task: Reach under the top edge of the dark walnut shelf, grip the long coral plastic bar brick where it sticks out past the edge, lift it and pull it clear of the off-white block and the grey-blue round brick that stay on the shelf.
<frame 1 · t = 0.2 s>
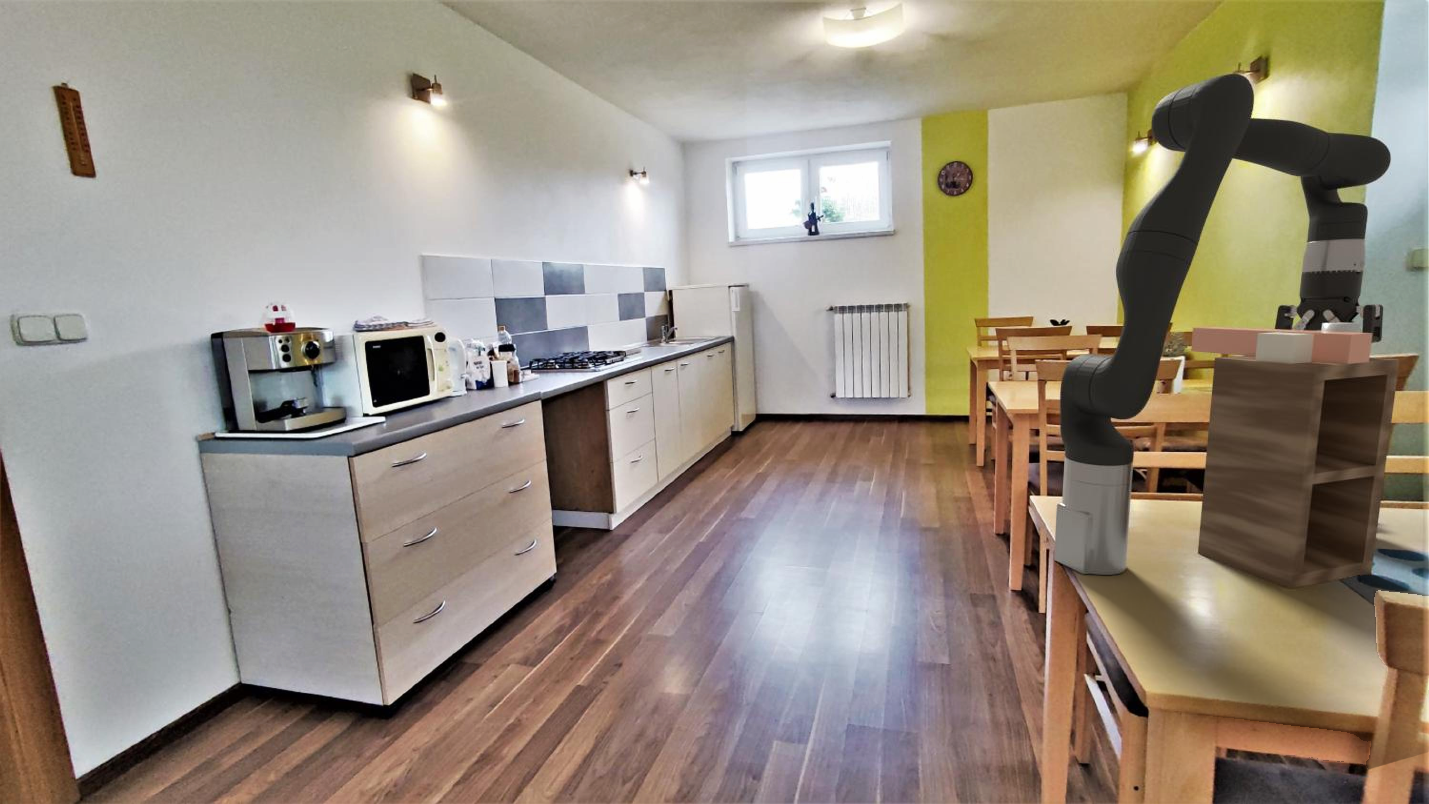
hand: (1321, 367, 112), 29 cm above the table, tool pointing down, fingers open, 8 cm apart
coral bar brick: (1270, 356, 103), point 32 cm above the table, touching walnut shelf
off-white block brick: (1282, 361, 97), point 32 cm above the table, touching walnut shelf
grey-blue round brick: (1337, 357, 99), point 32 cm above the table, touching walnut shelf
walnut shelf: (1280, 562, 104), on the table
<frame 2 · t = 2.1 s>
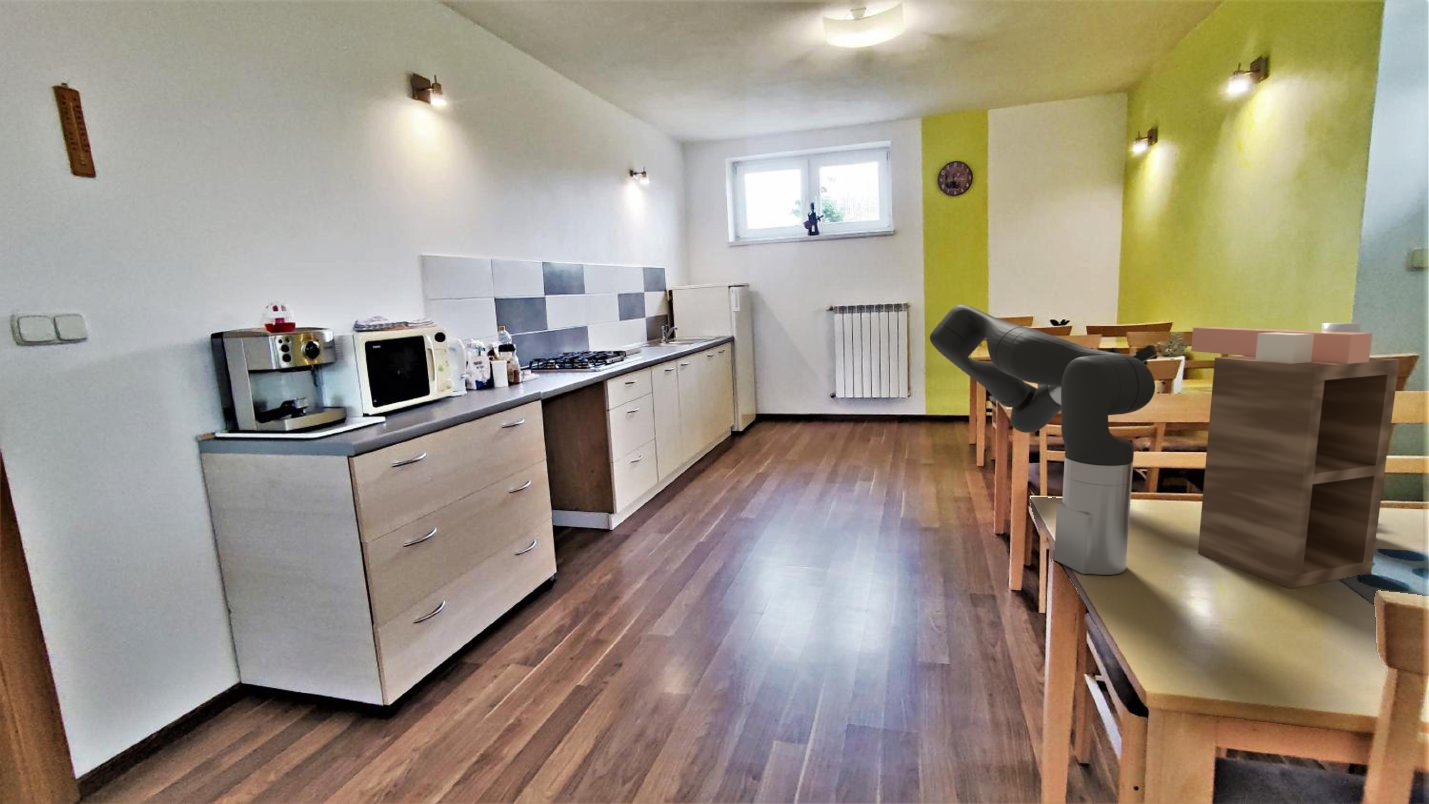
hand: (1135, 350, 127), 31 cm above the table, tool pointing upward, fingers open, 8 cm apart
nothing on the table moved.
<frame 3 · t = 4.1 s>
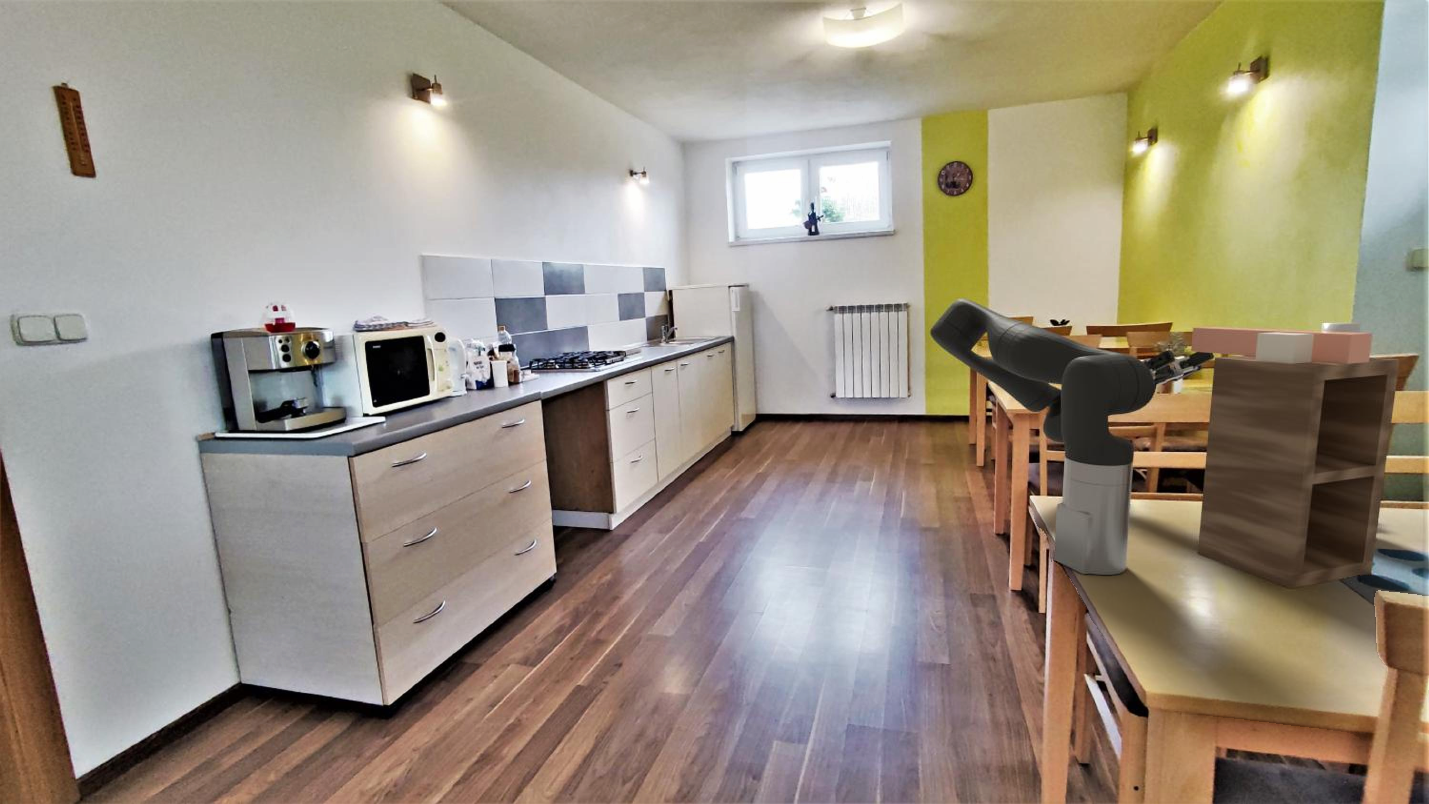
hand: (1191, 353, 116), 31 cm above the table, tool pointing upward, fingers open, 8 cm apart
nothing on the table moved.
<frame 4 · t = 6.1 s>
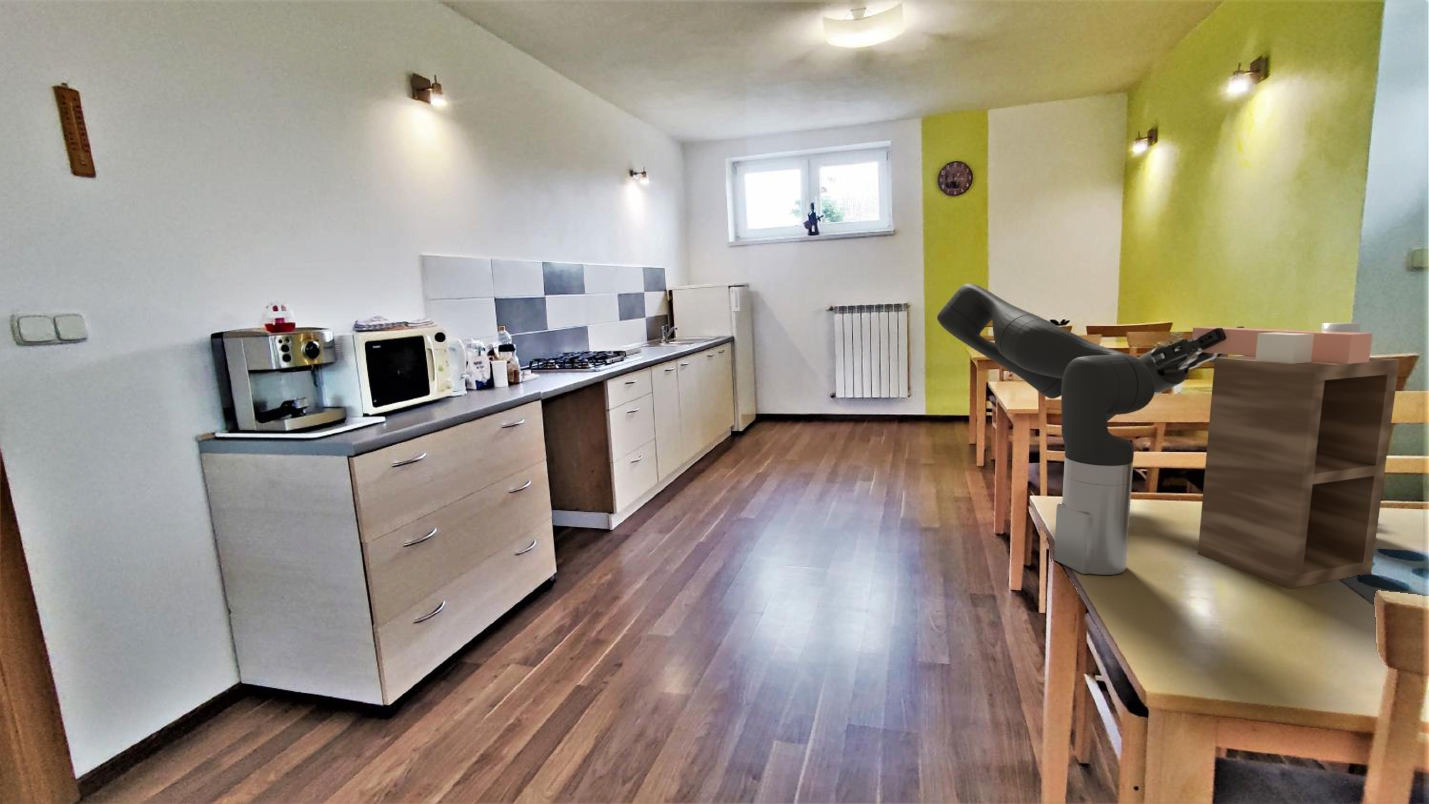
hand: (1233, 332, 109), 35 cm above the table, tool pointing upward, fingers closed on coral bar brick, 4 cm apart
coral bar brick: (1270, 356, 103), point 32 cm above the table, touching gripper, walnut shelf
everything else where it was.
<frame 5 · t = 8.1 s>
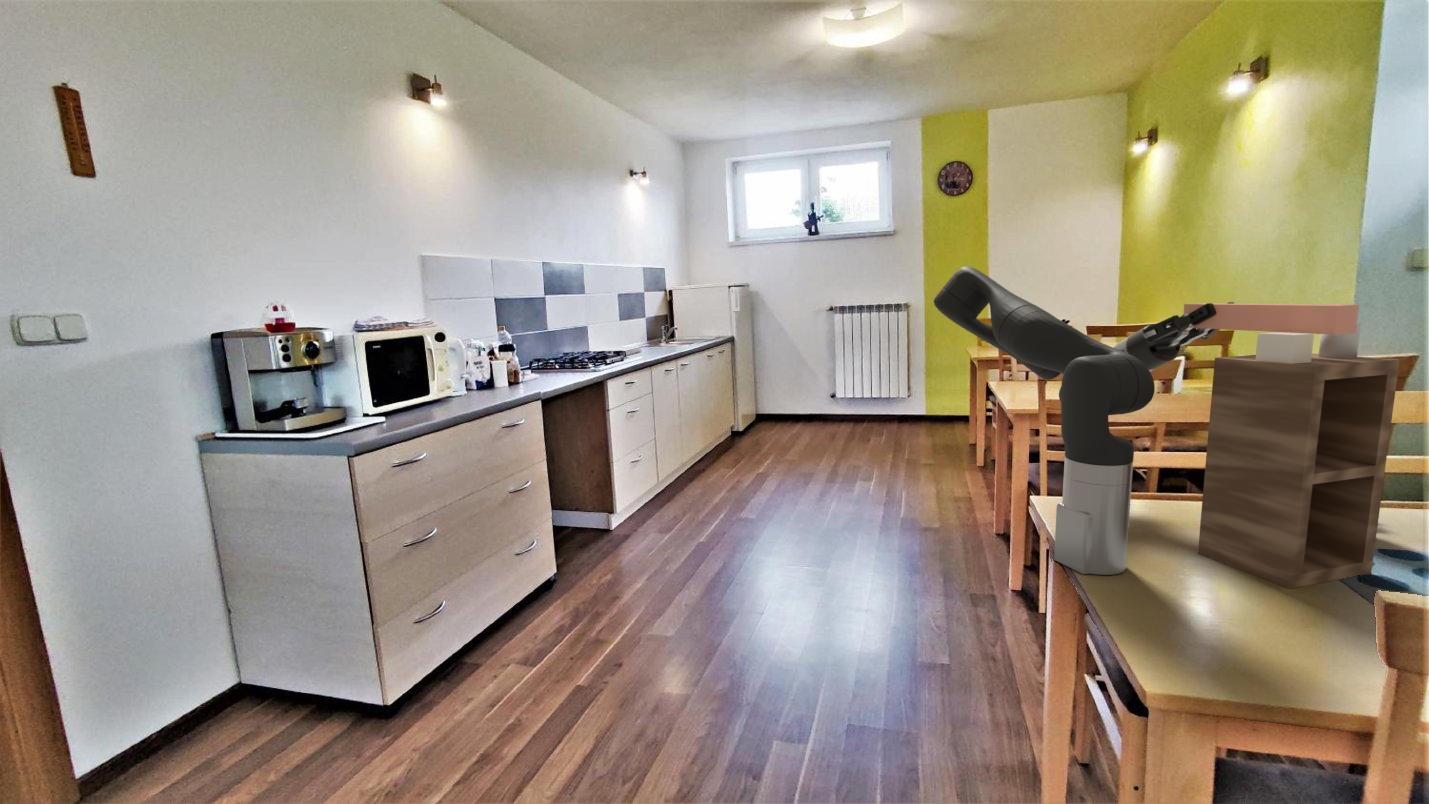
hand: (1223, 307, 110), 39 cm above the table, tool pointing upward, fingers closed on coral bar brick, 4 cm apart
coral bar brick: (1260, 330, 105), point 36 cm above the table, touching gripper
everything else where it was.
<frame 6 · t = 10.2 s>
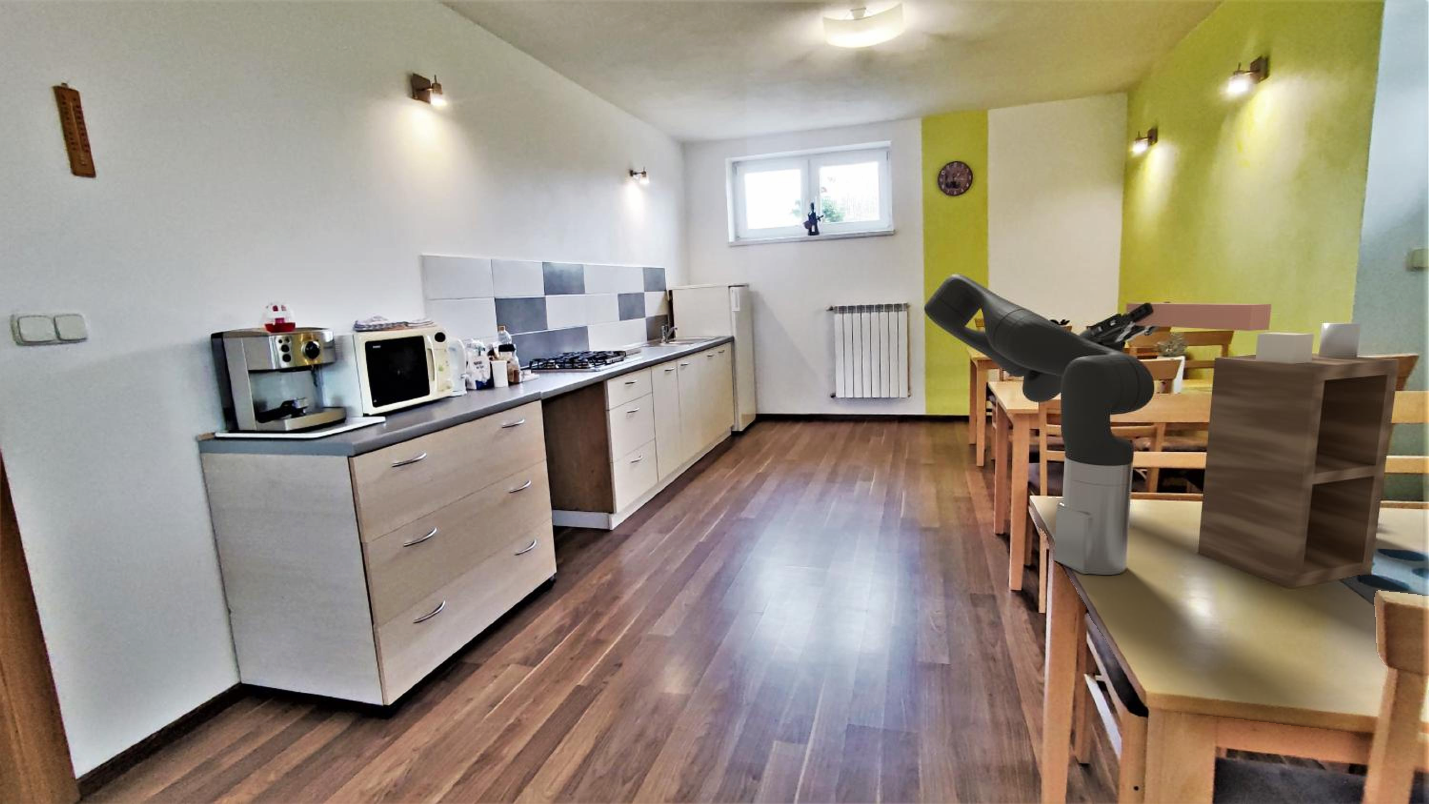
hand: (1160, 306, 121), 39 cm above the table, tool pointing upward, fingers closed on coral bar brick, 4 cm apart
coral bar brick: (1190, 327, 116), point 36 cm above the table, touching gripper
everything else where it was.
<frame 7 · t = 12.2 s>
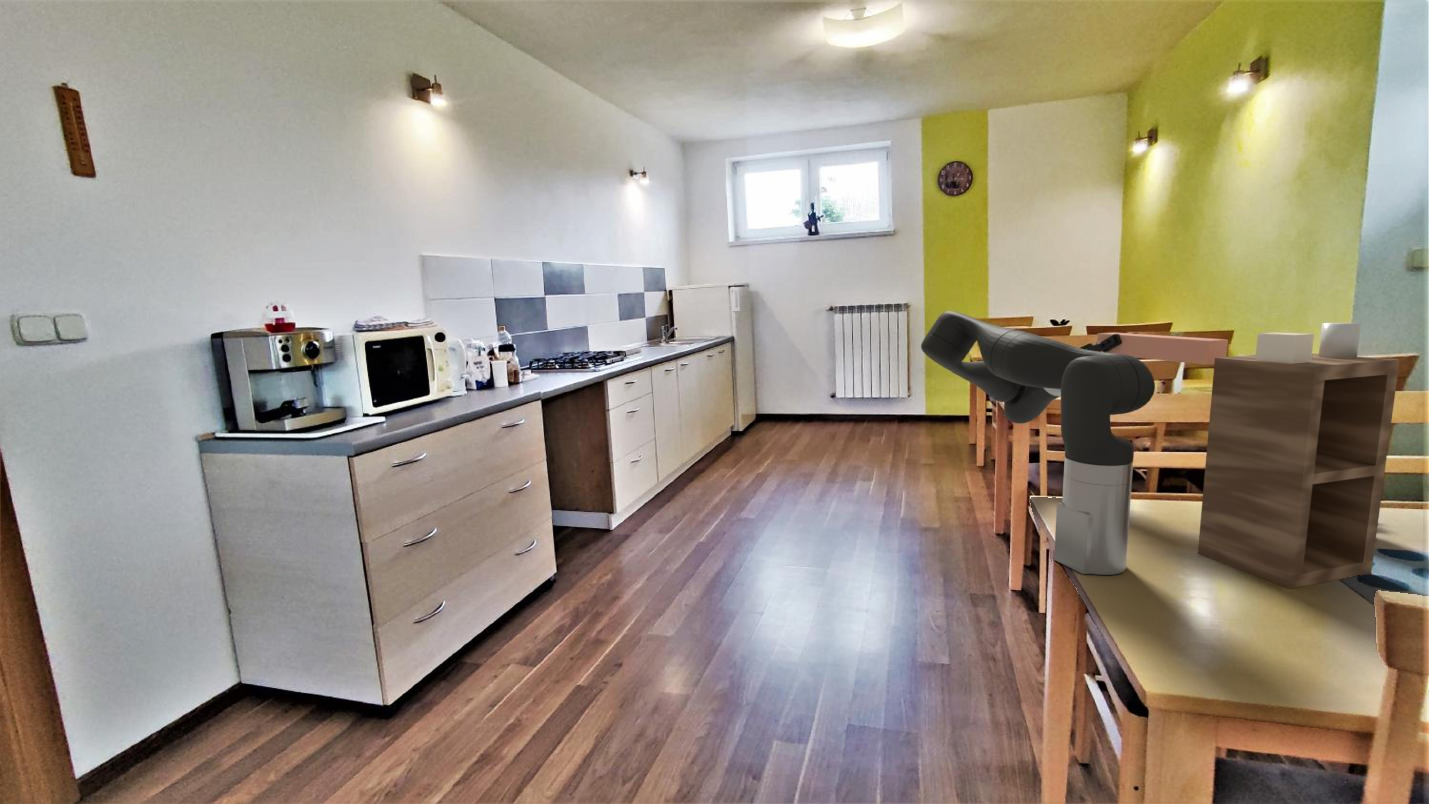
hand: (1128, 337, 128), 33 cm above the table, tool pointing upward, fingers closed on coral bar brick, 4 cm apart
coral bar brick: (1155, 358, 123), point 30 cm above the table, touching gripper
everything else where it was.
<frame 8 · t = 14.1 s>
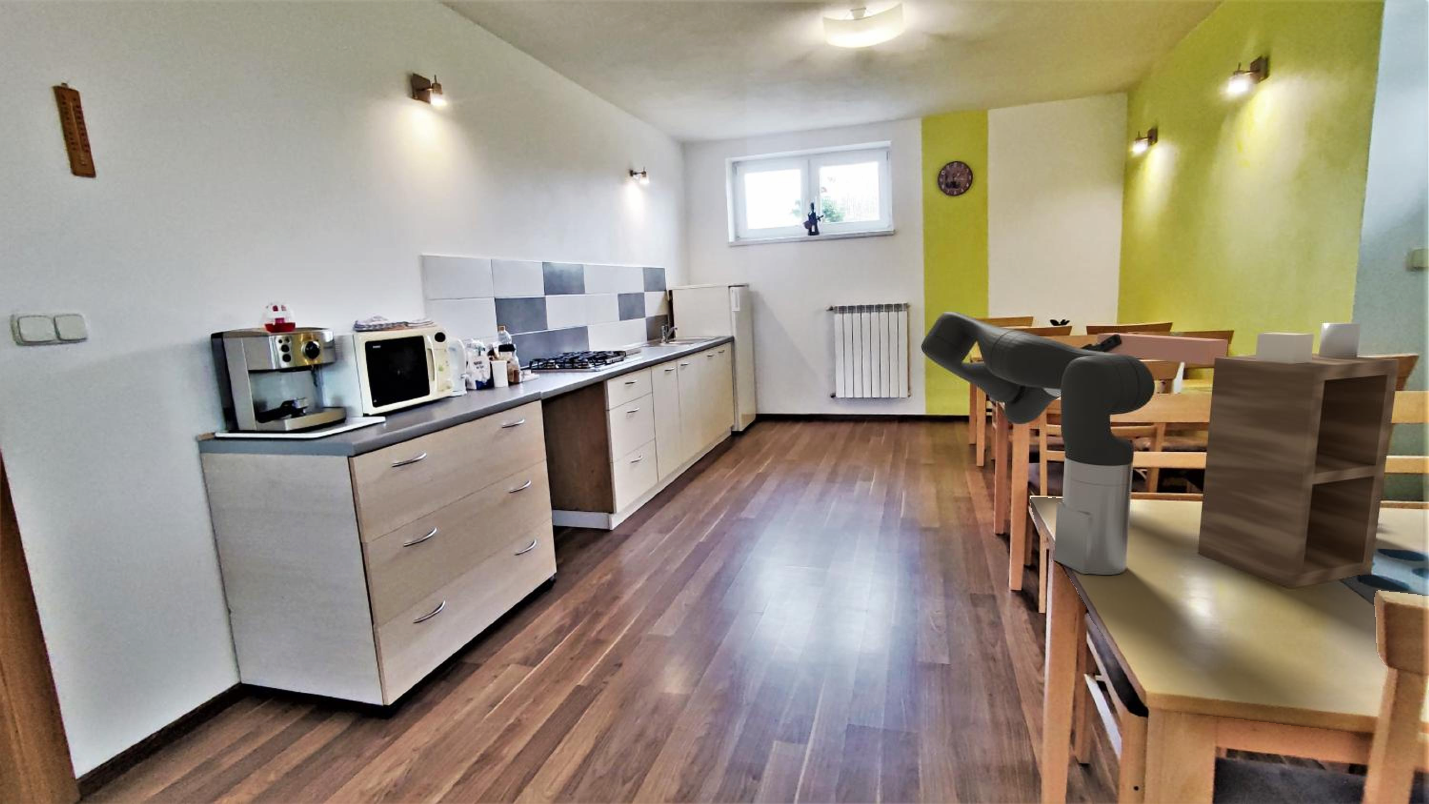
hand: (1128, 338, 128), 33 cm above the table, tool pointing upward, fingers closed on coral bar brick, 4 cm apart
coral bar brick: (1155, 358, 123), point 30 cm above the table, touching gripper
everything else where it was.
at the end: the gripper is holding coral bar brick; coral bar brick touching gripper; coral bar brick inside the target area (2.0 cm from its centre), point 30.0 cm above the table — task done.
